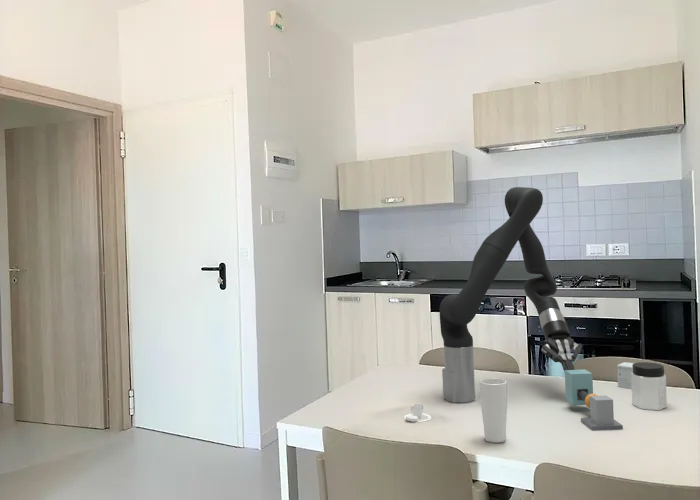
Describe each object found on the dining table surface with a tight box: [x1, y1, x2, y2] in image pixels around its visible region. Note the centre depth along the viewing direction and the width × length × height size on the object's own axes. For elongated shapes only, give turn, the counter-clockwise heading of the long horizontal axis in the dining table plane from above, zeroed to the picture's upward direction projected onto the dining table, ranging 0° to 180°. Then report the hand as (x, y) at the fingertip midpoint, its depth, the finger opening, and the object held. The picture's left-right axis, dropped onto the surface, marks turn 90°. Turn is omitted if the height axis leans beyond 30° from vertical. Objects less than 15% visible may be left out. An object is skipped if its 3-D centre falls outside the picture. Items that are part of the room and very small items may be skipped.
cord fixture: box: [577, 389, 624, 431], centre depth 155 cm, size 23×8×8 cm, turn 0°
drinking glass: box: [479, 377, 508, 444], centre depth 140 cm, size 7×7×15 cm
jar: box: [631, 361, 668, 411], centre depth 162 cm, size 9×8×12 cm
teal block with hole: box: [564, 369, 594, 406], centre depth 161 cm, size 5×6×9 cm
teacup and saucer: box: [403, 402, 432, 423], centre depth 160 cm, size 9×8×4 cm
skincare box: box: [616, 361, 635, 390], centre depth 183 cm, size 6×6×7 cm
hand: (570, 372), depth 167 cm, fingers closed
